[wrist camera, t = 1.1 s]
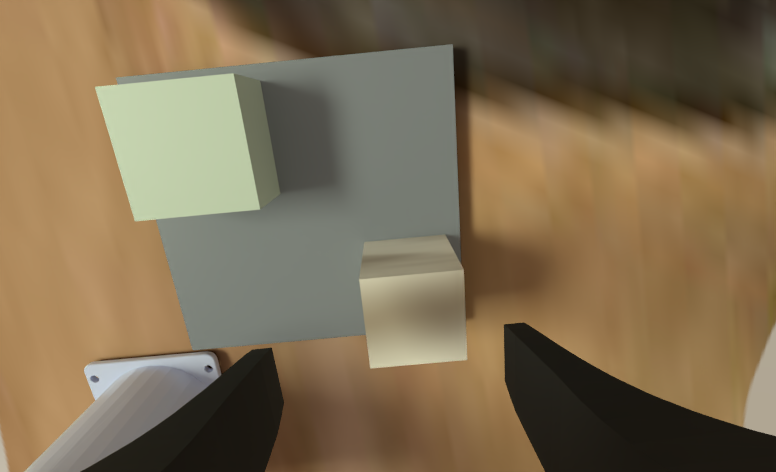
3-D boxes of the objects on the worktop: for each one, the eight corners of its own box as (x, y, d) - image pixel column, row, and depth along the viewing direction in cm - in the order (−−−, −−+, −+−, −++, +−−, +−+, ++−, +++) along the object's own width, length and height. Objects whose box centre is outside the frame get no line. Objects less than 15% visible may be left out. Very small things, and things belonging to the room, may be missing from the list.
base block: (280, 193, 20) (260, 209, 17) (175, 203, 20) (134, 221, 17) (260, 80, 19) (233, 73, 15) (146, 91, 19) (95, 86, 15)
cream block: (448, 307, 22) (467, 359, 18) (372, 314, 22) (370, 368, 18) (445, 234, 21) (463, 270, 16) (364, 242, 21) (359, 279, 16)
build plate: (461, 320, 23) (463, 326, 23) (197, 344, 23) (192, 350, 23) (450, 46, 19) (452, 44, 18) (123, 78, 19) (115, 77, 18)
